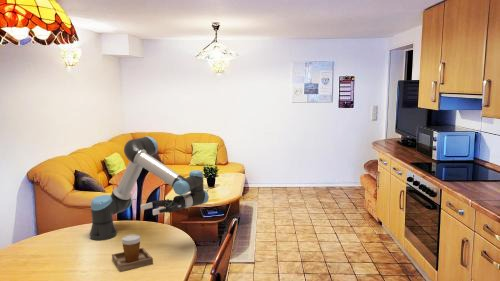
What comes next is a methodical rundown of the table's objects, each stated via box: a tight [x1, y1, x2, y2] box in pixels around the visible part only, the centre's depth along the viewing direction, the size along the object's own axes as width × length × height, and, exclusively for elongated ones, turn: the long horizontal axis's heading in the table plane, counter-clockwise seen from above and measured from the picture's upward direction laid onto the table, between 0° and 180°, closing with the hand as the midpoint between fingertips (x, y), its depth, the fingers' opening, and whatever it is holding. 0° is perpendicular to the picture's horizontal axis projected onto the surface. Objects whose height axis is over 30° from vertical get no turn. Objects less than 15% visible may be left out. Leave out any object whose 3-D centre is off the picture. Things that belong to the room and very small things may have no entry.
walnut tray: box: [111, 247, 154, 273], centre depth 204 cm, size 16×16×3 cm
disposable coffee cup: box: [120, 233, 142, 263], centre depth 204 cm, size 10×10×12 cm
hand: (146, 209), depth 208 cm, fingers open, 13 cm apart
